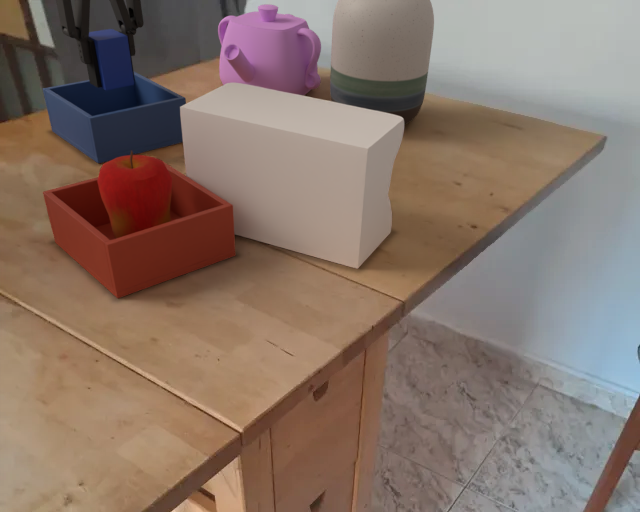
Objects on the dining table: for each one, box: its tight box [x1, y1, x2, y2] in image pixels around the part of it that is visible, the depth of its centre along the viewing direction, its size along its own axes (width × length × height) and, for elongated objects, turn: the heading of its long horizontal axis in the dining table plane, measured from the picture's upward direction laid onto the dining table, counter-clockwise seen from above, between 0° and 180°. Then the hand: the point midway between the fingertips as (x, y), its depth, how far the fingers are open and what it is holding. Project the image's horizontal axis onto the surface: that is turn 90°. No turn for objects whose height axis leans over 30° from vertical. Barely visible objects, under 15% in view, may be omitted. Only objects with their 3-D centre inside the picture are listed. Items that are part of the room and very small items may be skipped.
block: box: [89, 28, 134, 90], centre depth 107 cm, size 5×5×7 cm
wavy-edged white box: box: [180, 83, 405, 270], centre depth 91 cm, size 25×18×15 cm
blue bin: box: [42, 71, 187, 164], centre depth 113 cm, size 17×17×7 cm
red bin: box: [42, 162, 237, 299], centre depth 85 cm, size 17×17×7 cm
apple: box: [97, 150, 172, 239], centre depth 83 cm, size 9×8×12 cm
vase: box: [329, 0, 435, 126], centre depth 117 cm, size 17×17×24 cm
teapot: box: [217, 3, 322, 96], centre depth 130 cm, size 19×21×14 cm
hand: (112, 81), depth 109 cm, fingers closed on block, 5 cm apart
